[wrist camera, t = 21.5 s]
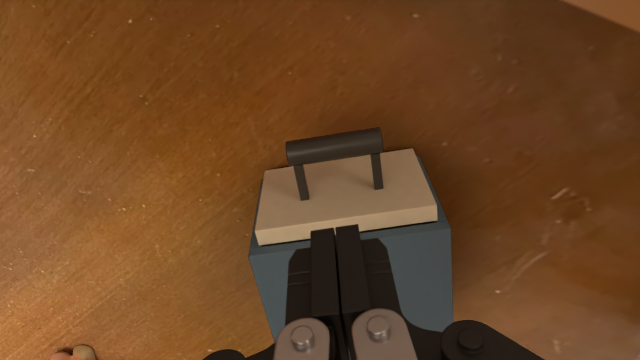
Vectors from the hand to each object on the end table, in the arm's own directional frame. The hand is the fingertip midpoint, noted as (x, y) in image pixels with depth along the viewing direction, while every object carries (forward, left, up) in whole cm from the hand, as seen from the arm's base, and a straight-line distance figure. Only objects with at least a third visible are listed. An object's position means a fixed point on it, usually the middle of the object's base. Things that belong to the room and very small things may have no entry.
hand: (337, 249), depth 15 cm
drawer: (+12, 0, -20) cm, 23 cm away
